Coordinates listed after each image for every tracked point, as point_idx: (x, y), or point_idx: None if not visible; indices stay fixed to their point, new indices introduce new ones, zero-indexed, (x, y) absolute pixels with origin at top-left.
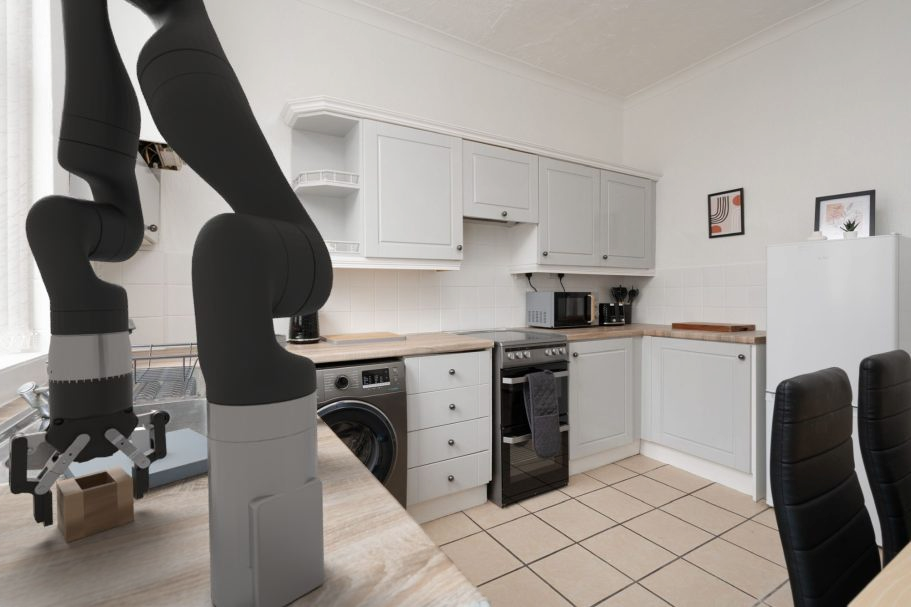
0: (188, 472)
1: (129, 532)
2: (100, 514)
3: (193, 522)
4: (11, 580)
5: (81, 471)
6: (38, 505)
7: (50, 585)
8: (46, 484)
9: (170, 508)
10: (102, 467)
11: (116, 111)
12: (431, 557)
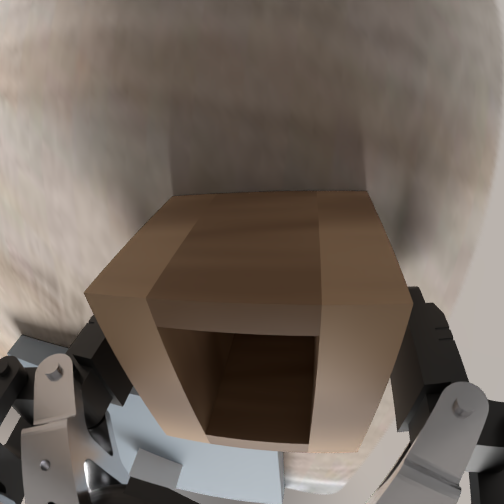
0: None
1: (189, 109)
2: (258, 217)
3: (44, 60)
4: (498, 67)
5: (265, 472)
6: (449, 351)
7: None
8: (455, 420)
9: (86, 208)
10: (230, 466)
11: None
12: None
